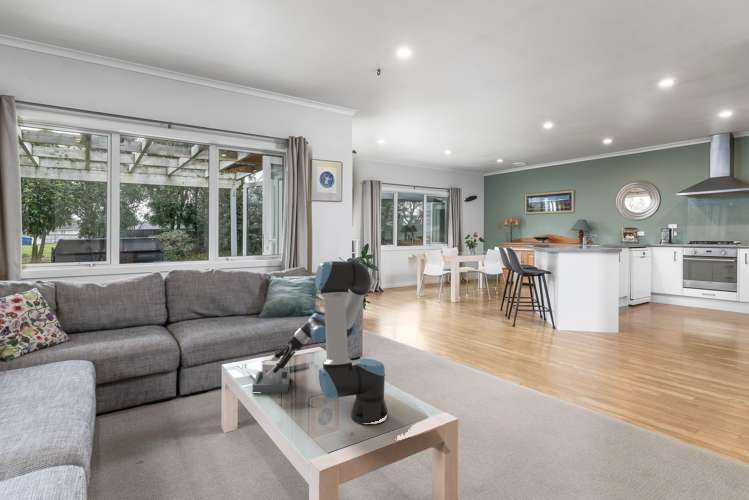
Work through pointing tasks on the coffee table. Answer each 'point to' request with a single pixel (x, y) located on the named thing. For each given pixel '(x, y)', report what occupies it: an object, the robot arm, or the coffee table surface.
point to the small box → (267, 368)
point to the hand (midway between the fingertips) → (267, 372)
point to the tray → (271, 388)
